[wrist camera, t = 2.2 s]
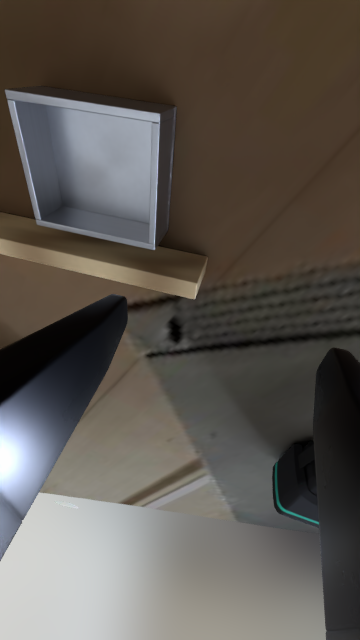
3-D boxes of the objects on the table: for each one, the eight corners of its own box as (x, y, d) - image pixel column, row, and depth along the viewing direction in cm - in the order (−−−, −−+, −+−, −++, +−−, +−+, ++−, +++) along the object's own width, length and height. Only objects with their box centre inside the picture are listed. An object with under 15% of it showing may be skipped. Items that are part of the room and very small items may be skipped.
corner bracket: (245, 43, 14) (237, 38, 11) (205, 272, 22) (194, 299, 19) (-144, -4, 16) (-224, -16, 14) (-50, 215, 25) (-89, 233, 22)
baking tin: (177, 106, 16) (160, 113, 14) (168, 230, 20) (154, 250, 18) (40, 85, 17) (4, 89, 15) (61, 208, 22) (36, 225, 19)
